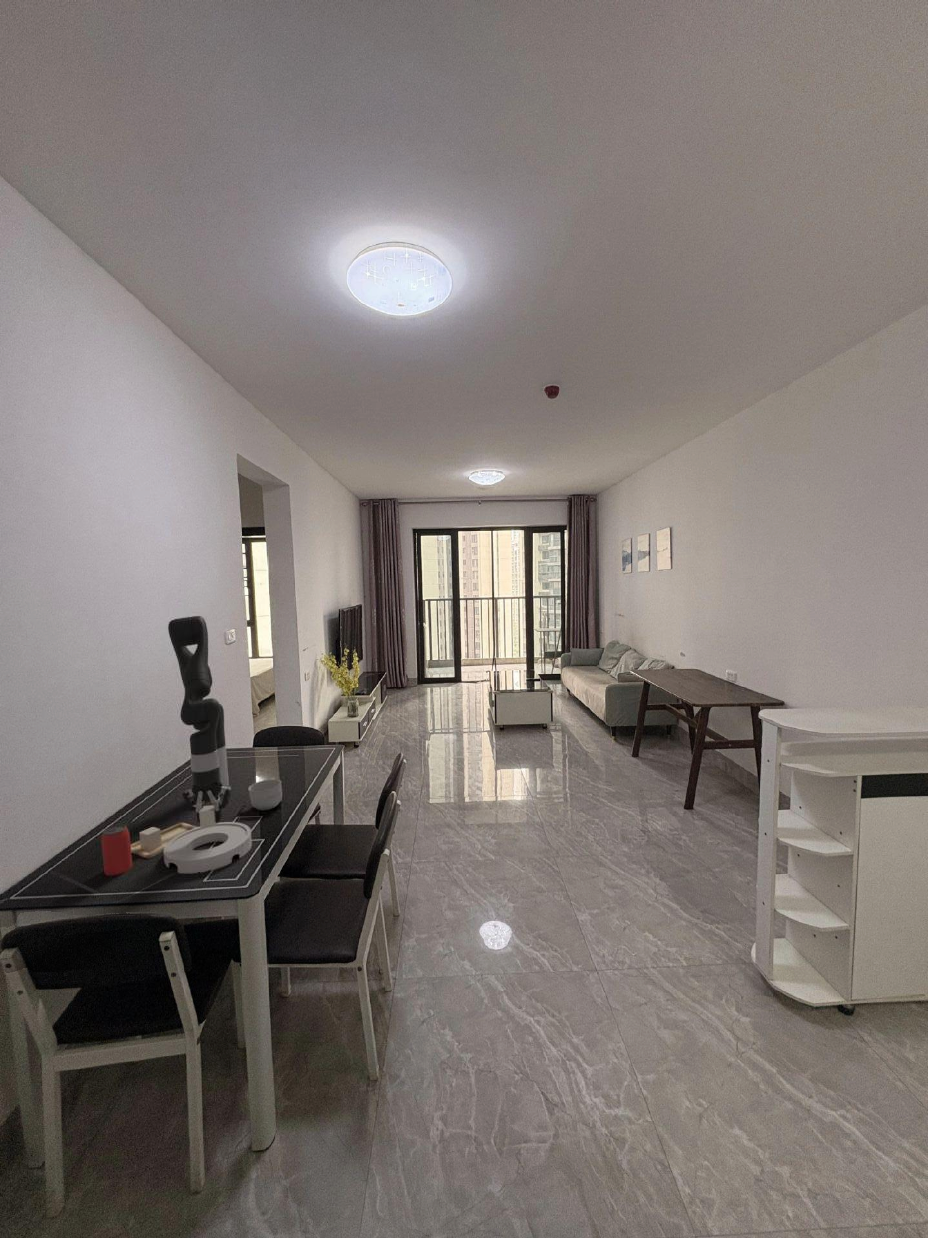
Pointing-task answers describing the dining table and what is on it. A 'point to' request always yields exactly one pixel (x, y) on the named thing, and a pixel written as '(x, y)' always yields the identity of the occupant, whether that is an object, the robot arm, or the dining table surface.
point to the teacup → (265, 794)
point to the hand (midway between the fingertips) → (210, 822)
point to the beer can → (116, 850)
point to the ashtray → (210, 859)
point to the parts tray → (165, 837)
